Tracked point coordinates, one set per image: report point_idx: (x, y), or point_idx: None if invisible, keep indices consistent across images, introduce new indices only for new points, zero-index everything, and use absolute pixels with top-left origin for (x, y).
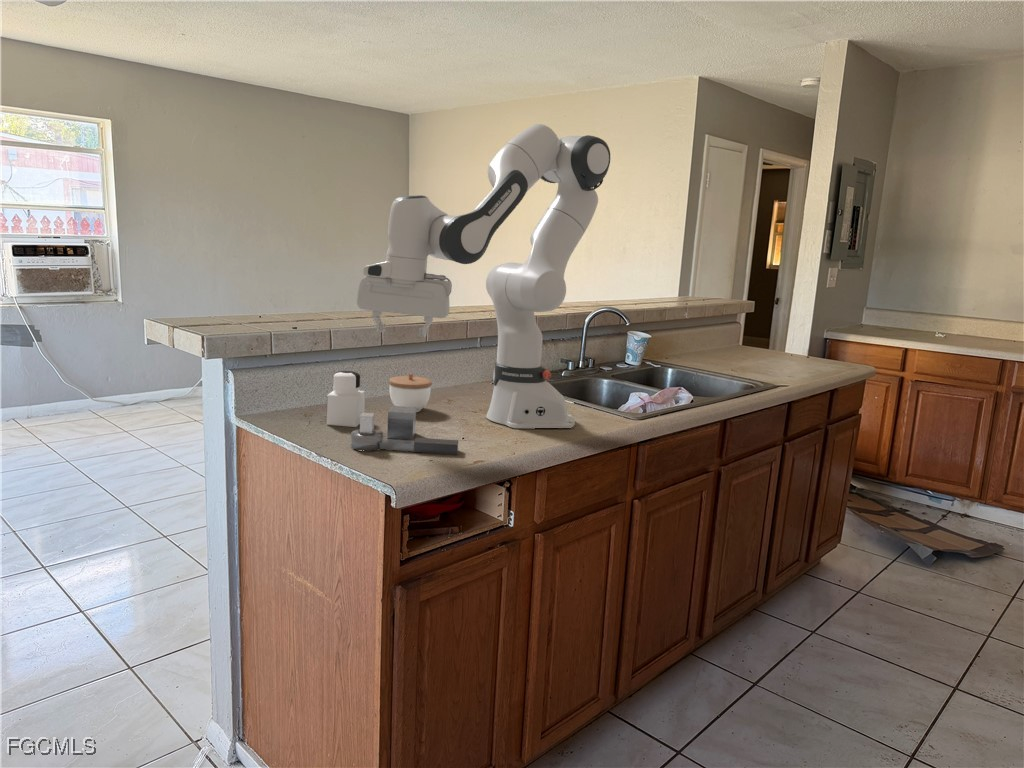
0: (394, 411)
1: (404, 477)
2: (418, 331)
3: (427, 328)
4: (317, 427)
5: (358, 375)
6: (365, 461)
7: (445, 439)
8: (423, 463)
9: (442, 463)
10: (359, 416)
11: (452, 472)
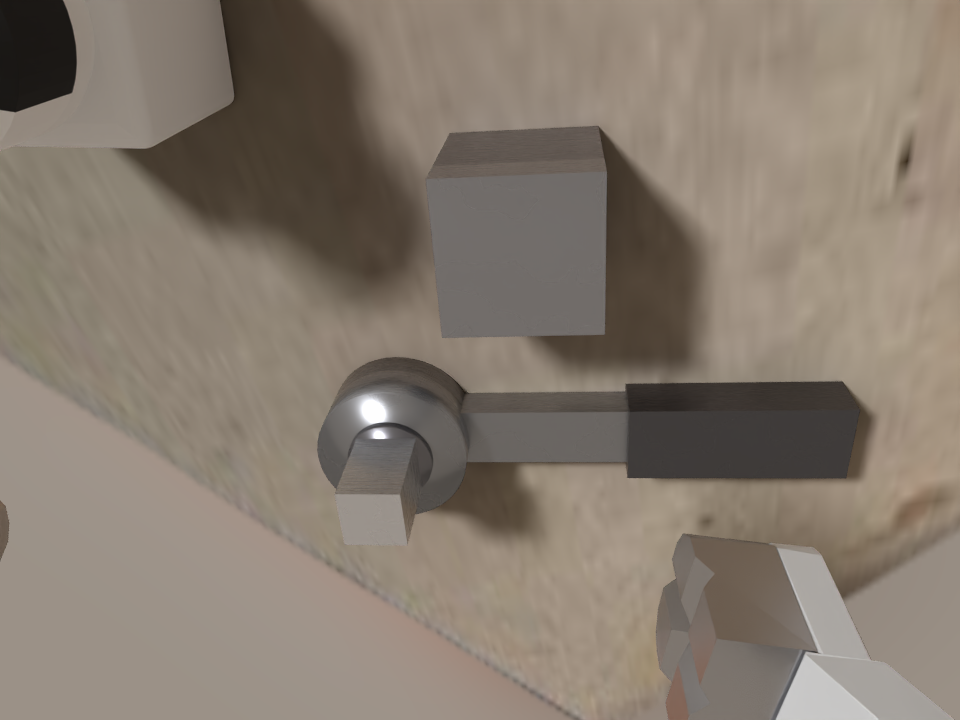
0: (478, 321)
1: (616, 673)
2: (671, 707)
3: (886, 676)
4: (46, 161)
5: (1, 58)
6: (451, 566)
7: (787, 410)
8: None
9: None
10: (207, 51)
11: None
